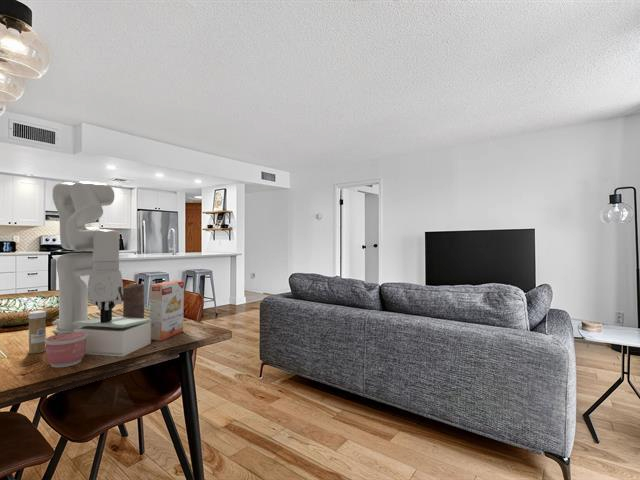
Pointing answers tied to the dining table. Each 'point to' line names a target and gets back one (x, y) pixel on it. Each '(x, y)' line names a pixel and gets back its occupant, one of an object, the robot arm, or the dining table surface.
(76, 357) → the container
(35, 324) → the sprinkles bottle
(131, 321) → the lid
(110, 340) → the box
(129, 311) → the candle
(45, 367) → the dining table surface
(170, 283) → the cracker box
